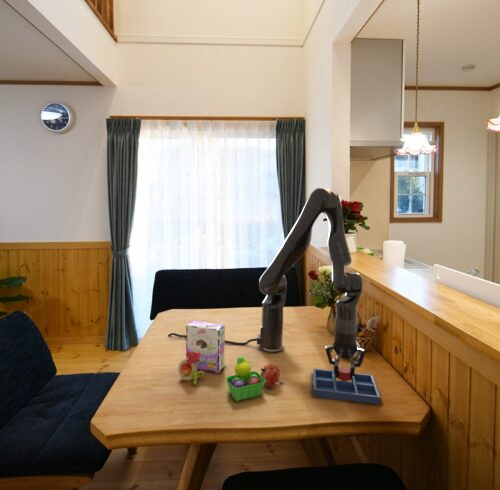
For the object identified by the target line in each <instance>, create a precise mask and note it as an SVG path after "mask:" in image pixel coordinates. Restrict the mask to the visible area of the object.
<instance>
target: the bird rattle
mask: <svg viewBox="0 0 500 490" xmlns="http://www.w3.org/2000/svg"><path fill="white" fill-rule="evenodd" d="M186 354H187V356H188V358H187V359H186V358H184V359H182V360H181V361H180V362H179V365H178V373H179V376H180V377H181V381H192V380H193V385H194V386H196V385H197V381H198V379H199V378H204V375H205V372H204V370H199V371H198V369H197V366H196V363H195V362H199V356H200V354H201V353H195V352H188V351H187V352H185V355H186Z"/></svg>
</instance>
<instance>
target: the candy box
mask: <svg viewBox="0 0 500 490" xmlns="http://www.w3.org/2000/svg"><path fill="white" fill-rule="evenodd" d="M185 329H186V330H185V333H186V334H185V335H186V337H185V339H186V340H185V351H186V352H187V351H188V352H195V353H201V354H200V356H199V362H195V363H196V366H197V370H199V371H206V372H212V373H215V374H220V372H221V371H222V370H223V369H224V367H225V344H226V343H225V341H226V340H225V339H226V338H225V337H226V336H225V335H226V334H225V333H226V332H225V331H226V326H225V324H222V323H221V324H220V323H213V322H207V321H200V320H192V321H191V322H189V323H188V324H186V325H185ZM186 352H185V359H187V358H188V356H187V354H186Z"/></svg>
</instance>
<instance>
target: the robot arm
mask: <svg viewBox="0 0 500 490" xmlns="http://www.w3.org/2000/svg"><path fill="white" fill-rule="evenodd" d="M321 214H325V217H326V219H327V222H328V236H327V250H328V254H329V257H330V262H331V285H332V288H333V290H334V291H335V292H336V293H338V294H341V295H343V294H344V296H342V297H340V298H338V299H337V300H336V303H335V318H334V333H333V334H334V336H333V338H334V339H333V343H332V344H331V345H328V344H326V345H325V353H326V356H327V360H328V364H329V365H333V371H334V374H335V375H336V377H338V368H339V367H340V366H339V363H340V362H341V359H348V360H349V363H350V365H349V369H350V371H351V373H350V378H353V377H354V375H355V373H356V368H360V367H361V366H362V363H363V360H364V358H365V355H366V351H365V349H364V348H361V347H360V348H357V345H356V340H357V338H358V336H357V335H358V320H357V319H358V318H357V317H358V304H359V302H360V299H361V296H362V293H363V289H364V280H363V277H362V275H361V274H360V273H359V272H356V271H346V272H345V267H348V266H350V265H351V264H352V261H353V259H352V256H351V252H350V249H349V245H348V240H347V238H346V232H345V226H344V225H345V224H344V217H343V216H344V215H343V208H342V200H341V197H340V195H339V194H338V192H336V191H335V190H332V189H328V188H325V187H317V188H315V189H313V191H312V192H311V193H310V194H309V196H308V198H307V200H306V202H305V204H304V206H303V208H302V211H301V213H300V215H299V217H298V218H297V220H296V222H295V224H294V225H293V227H292V229H291V230H290V232H289V233H288V235H287V237H286V238H285V240H284V242H283V243H282V245H281V246H280V248H279V250H278V252H277V253H276V255H275V256H274V259H273V260H272V262H271V263H270V264H269V266H268V267H267V268H266V270H265V271H264V272H263V274H262V275H261V276H260V278H259V281H258V288H259V291H260V292H261V293H262V294H263V295H266V296H265V298H264V299H263V301H262V302H261V326H260V332H259V334H257V337H256V338H251V339H248V340H247V341H245V342H237V341H230V340H225V344H230V345H235V346H236V345H237V346H245V345H248V344H249V343H252V342H256V345H259V350H261V351H264V352H267V353H278V352H281V351H282V350H283V340H284V339H283V336H284V306H285V304H286V299H287V286H288V285H287V283H288V282H287V278H286V276H285V274H286V273H287V272H288V271H289V270H290V269H291V268H292V267H293V266H294V265H296V263H298V261H299V260H300V259H302V257H304V255H305V253H306V251H307V250H308V248H310V245H311V243H312V237H313V236H312V235H313V227H314V225H315V222H316V221H317V219H318V218H319V216H320V215H321ZM172 336H175V337H178V338H186V334H179V333H176V332H172V333H169V334H168V335H167V337H169V338H170V337H172ZM357 341H358V340H357ZM333 351H334V352H335V357H334V358H333V357H332V354H331V353H332V352H333ZM357 351H358V353H357V358H356V361H354V357H352V356H353V355H354V354H355V353H356V352H357Z"/></svg>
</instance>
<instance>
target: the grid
mask: <svg viewBox="0 0 500 490" xmlns="http://www.w3.org/2000/svg"><path fill="white" fill-rule="evenodd" d="M312 384H313V385H312V387H313V389H312V391H313V393H312V394H313V395H312V396H313V397H314V398H322V399H330V400H338V401H347V402H355V403H363V404H372V405H381V396H380V393H379V390H378V386H377V384H376V380H375V378H374V376H373V374H367V373H359V372H355V375H354V377H353V378H350V380H348V381H344V380H340V379H339V378H338V377H336V375H335V374H334V370H330V369H321V368H313V369H312Z"/></svg>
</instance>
